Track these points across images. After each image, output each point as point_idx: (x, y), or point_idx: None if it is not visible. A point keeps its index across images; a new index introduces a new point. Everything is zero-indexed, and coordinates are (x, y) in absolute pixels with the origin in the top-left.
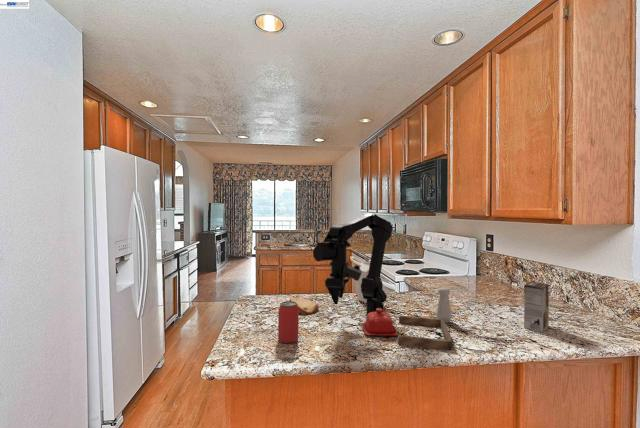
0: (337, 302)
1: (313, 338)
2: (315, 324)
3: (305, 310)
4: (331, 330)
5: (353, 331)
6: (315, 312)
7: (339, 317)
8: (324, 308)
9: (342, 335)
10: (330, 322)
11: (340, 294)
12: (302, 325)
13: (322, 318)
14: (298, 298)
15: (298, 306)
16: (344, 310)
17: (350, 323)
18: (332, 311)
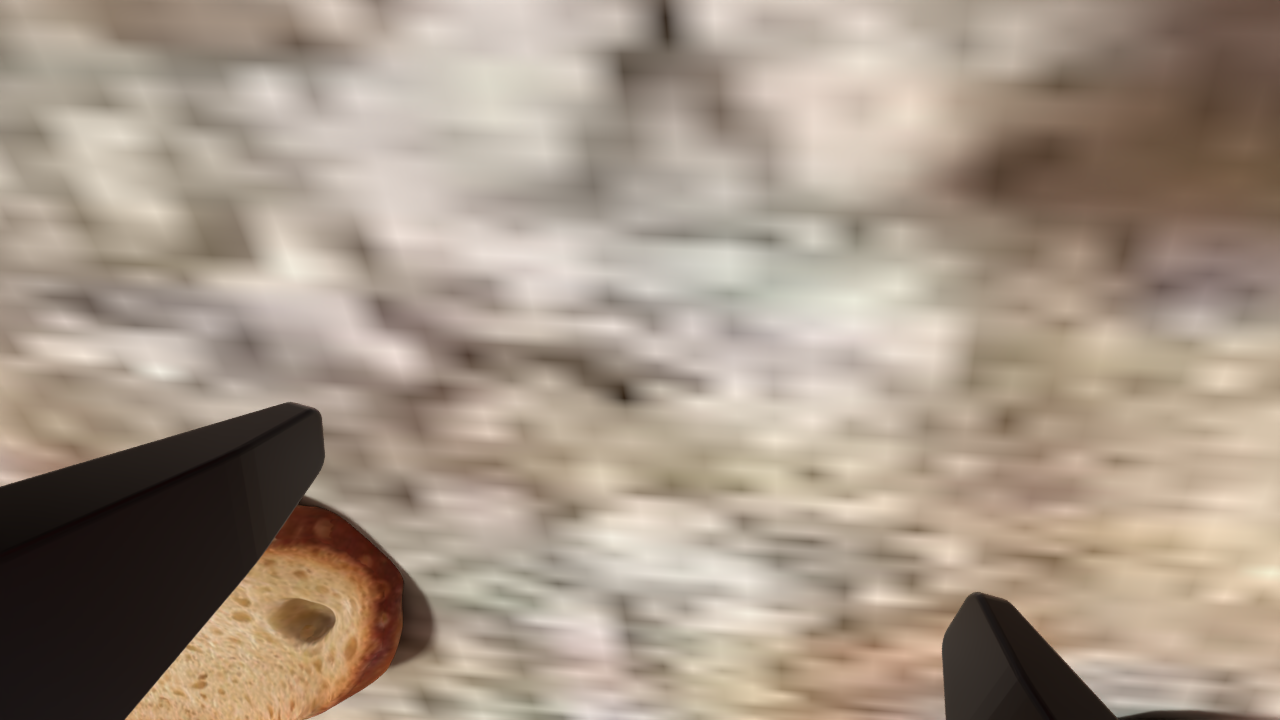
0: (1045, 644)
1: (1167, 584)
2: (685, 533)
3: (360, 627)
4: (902, 378)
5: (977, 45)
6: (316, 515)
7: (371, 248)
8: (121, 410)
9: (1139, 240)
10: (592, 373)
11: (258, 501)
12: (727, 642)
13: (468, 452)
14: None
15: (329, 704)
16: (64, 164)
17: (591, 87)
18: (179, 327)
